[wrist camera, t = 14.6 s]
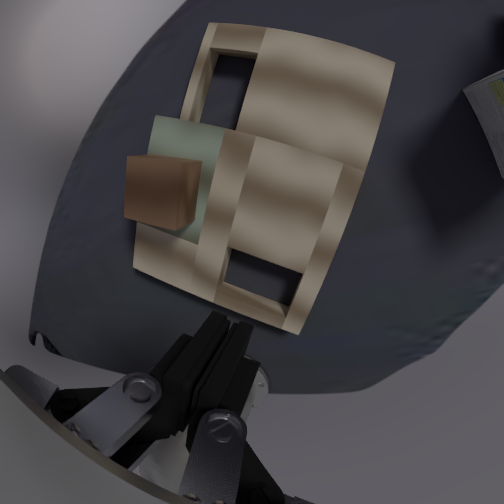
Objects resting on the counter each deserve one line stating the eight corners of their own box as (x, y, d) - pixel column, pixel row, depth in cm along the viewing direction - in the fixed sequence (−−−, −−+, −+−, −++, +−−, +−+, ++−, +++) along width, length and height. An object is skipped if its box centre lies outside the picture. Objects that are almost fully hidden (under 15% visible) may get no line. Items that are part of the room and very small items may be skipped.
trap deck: (301, 322, 31) (298, 335, 29) (144, 259, 34) (133, 267, 32) (389, 70, 20) (395, 62, 17) (194, 30, 23) (184, 22, 20)
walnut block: (194, 220, 28) (175, 230, 24) (146, 208, 29) (123, 217, 25) (202, 160, 25) (181, 163, 22) (151, 154, 26) (127, 156, 23)
